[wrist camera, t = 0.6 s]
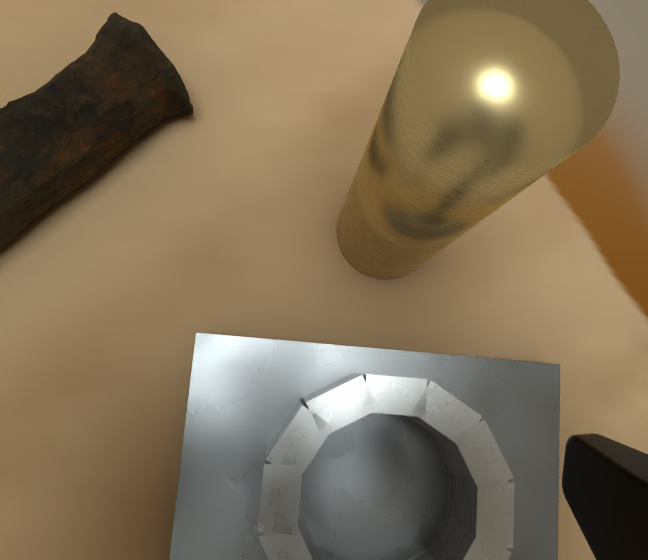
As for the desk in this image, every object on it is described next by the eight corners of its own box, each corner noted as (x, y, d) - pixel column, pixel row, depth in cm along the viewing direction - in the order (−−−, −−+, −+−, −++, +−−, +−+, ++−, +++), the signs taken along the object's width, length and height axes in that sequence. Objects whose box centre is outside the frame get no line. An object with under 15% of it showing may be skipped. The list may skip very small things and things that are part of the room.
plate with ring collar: (541, 629, 21) (605, 693, 17) (168, 609, 20) (139, 672, 16) (545, 364, 23) (604, 363, 19) (200, 334, 22) (182, 326, 18)
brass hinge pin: (443, 265, 23) (649, 137, 10) (351, 289, 23) (446, 186, 10) (416, 175, 24) (579, -53, 11) (325, 197, 23) (383, -14, 10)
